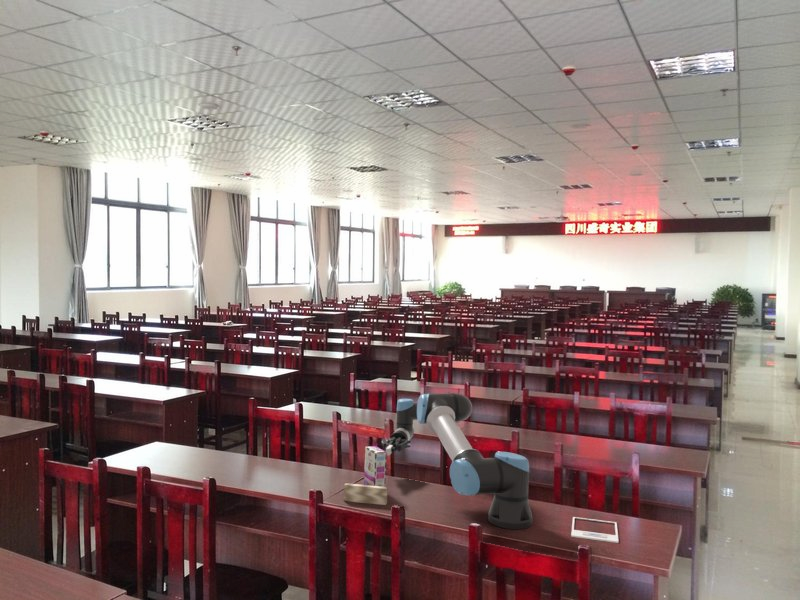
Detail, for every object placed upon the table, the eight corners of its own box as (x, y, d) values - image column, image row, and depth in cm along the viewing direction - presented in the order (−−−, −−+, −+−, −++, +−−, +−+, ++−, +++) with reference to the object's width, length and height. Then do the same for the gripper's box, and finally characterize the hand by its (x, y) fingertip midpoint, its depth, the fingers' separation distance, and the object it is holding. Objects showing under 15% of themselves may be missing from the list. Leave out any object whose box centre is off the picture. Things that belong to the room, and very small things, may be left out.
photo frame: (571, 534, 206) (572, 516, 223) (571, 538, 206) (572, 519, 223) (618, 540, 202) (616, 521, 219) (618, 544, 202) (616, 524, 219)
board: (386, 503, 233) (387, 487, 233) (385, 505, 231) (386, 488, 231) (345, 499, 236) (345, 483, 236) (343, 500, 234) (344, 484, 234)
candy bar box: (386, 494, 244) (387, 451, 243) (374, 495, 241) (375, 453, 241) (374, 485, 254) (376, 445, 253) (363, 487, 252) (364, 446, 251)
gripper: (414, 448, 277) (403, 462, 254) (385, 445, 280) (371, 459, 257) (414, 431, 277) (403, 444, 254) (385, 428, 280) (372, 441, 257)
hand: (387, 452), depth 255 cm, fingers closed
